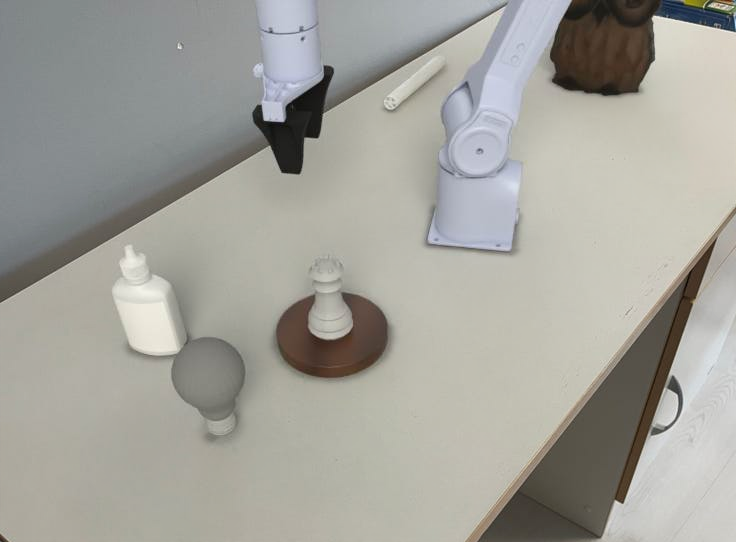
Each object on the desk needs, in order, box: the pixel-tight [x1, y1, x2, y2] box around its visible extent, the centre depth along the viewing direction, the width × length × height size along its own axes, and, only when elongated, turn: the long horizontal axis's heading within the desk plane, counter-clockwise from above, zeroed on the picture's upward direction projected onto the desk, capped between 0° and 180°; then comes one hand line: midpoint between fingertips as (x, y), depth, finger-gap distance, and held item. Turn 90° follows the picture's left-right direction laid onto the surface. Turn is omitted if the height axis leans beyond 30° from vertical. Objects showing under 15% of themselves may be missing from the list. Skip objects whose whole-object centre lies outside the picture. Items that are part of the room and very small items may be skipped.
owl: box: [549, 0, 663, 97], centre depth 103 cm, size 13×13×20 cm
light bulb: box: [170, 336, 246, 436], centre depth 60 cm, size 6×6×10 cm
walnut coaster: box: [275, 291, 389, 379], centre depth 71 cm, size 11×11×2 cm
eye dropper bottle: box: [111, 244, 188, 357], centre depth 68 cm, size 4×6×12 cm
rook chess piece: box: [308, 253, 353, 340], centre depth 68 cm, size 4×4×8 cm
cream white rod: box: [383, 55, 446, 111], centre depth 110 cm, size 18×2×2 cm, turn 149°
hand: (301, 153), depth 77 cm, fingers open, 7 cm apart
